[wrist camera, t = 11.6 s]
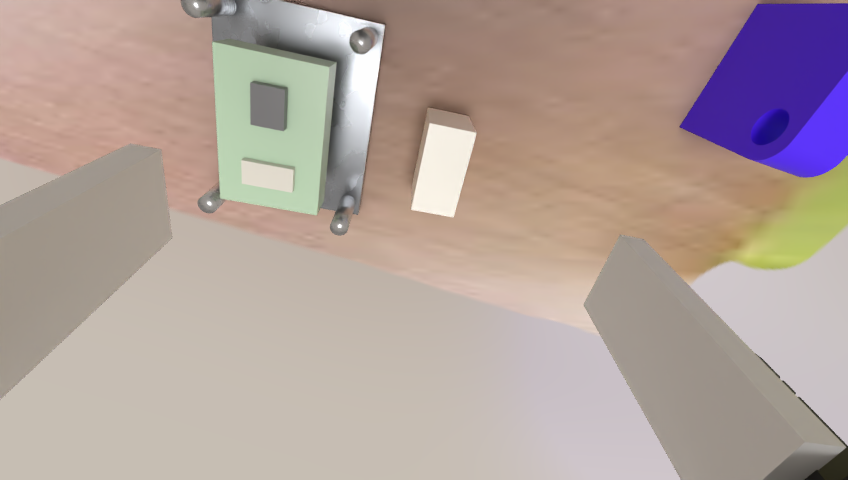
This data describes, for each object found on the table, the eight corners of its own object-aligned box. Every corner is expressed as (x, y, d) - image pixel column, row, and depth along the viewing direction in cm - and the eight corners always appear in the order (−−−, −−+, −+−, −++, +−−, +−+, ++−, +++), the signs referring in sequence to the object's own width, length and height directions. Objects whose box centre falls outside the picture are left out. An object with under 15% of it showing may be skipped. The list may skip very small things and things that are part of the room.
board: (229, 38, 30) (206, 42, 27) (336, 62, 31) (327, 68, 28) (234, 184, 36) (215, 202, 33) (324, 200, 37) (314, 219, 33)
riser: (428, 107, 38) (429, 123, 33) (468, 115, 38) (476, 132, 33) (411, 184, 42) (411, 209, 36) (449, 191, 42) (453, 217, 37)
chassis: (216, -16, 33) (172, -21, 27) (385, 24, 34) (379, 27, 28) (225, 185, 41) (194, 214, 36) (359, 209, 43) (350, 241, 37)
